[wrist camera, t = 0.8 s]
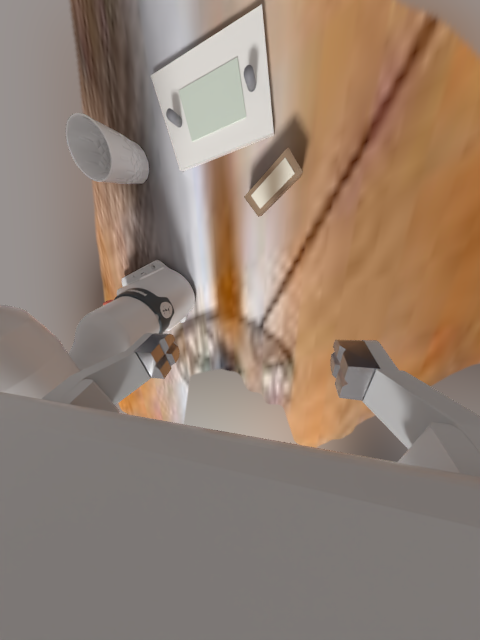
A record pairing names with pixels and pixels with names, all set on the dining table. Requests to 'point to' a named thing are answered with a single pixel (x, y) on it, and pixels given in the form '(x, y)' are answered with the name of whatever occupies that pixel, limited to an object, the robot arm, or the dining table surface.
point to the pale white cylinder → (105, 152)
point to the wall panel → (218, 93)
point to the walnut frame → (274, 183)
